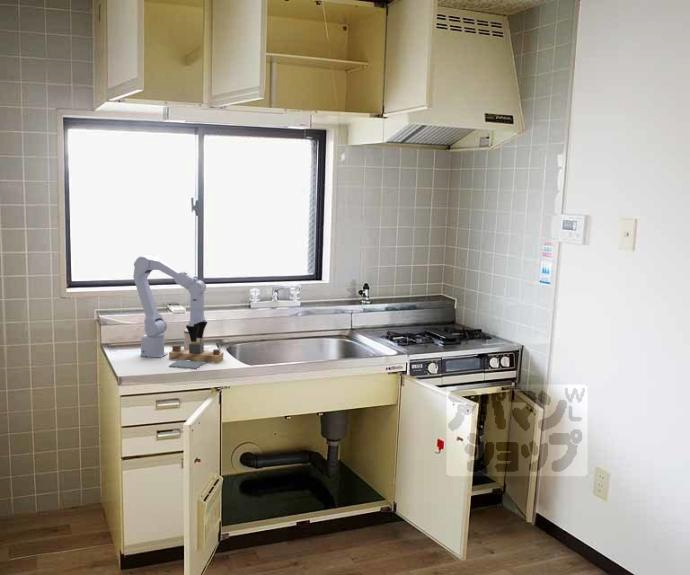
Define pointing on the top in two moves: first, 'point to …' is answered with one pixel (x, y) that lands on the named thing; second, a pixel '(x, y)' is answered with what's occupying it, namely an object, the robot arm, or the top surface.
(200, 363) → the slate mat
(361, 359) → the top surface
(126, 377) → the top surface
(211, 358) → the hand plane
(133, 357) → the top surface
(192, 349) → the lever cap
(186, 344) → the teacup with lid
